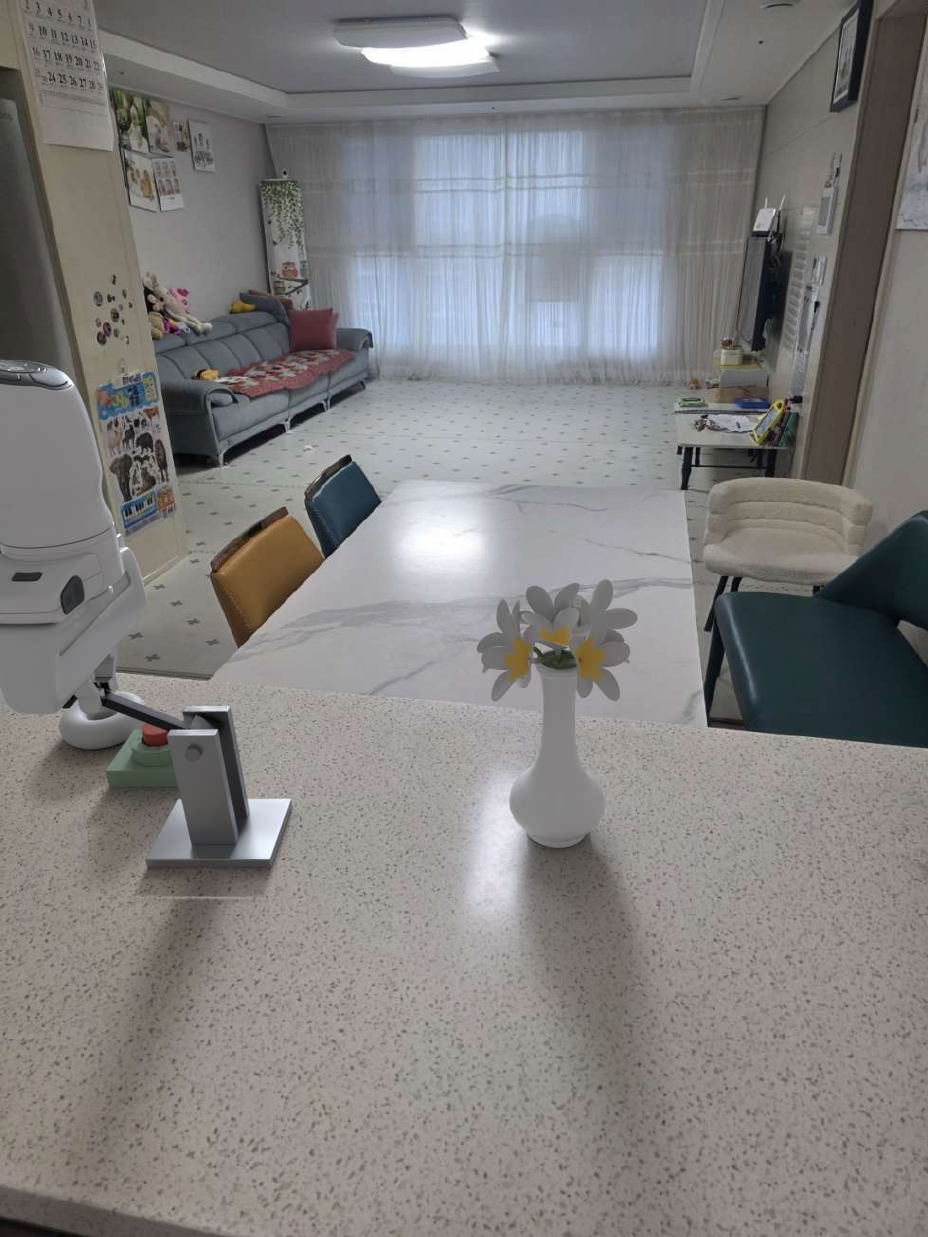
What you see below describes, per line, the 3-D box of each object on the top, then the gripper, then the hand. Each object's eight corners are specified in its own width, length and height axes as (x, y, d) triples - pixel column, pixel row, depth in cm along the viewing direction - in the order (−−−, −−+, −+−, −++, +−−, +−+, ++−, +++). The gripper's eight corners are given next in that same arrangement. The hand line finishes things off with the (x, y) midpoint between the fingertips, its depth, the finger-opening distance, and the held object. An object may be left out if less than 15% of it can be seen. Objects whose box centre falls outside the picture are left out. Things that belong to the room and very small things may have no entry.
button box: (109, 787, 90) (101, 757, 88) (138, 745, 97) (130, 716, 95) (199, 787, 89) (193, 756, 88) (221, 744, 97) (216, 715, 95)
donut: (168, 722, 101) (114, 700, 106) (163, 698, 100) (108, 677, 105) (99, 765, 94) (44, 740, 98) (92, 740, 92) (37, 715, 97)
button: (139, 748, 90) (136, 734, 89) (151, 729, 93) (148, 716, 93) (171, 748, 90) (168, 734, 89) (182, 729, 93) (180, 716, 92)
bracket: (147, 869, 78) (115, 749, 72) (179, 807, 86) (153, 695, 80) (271, 869, 78) (250, 748, 72) (292, 807, 86) (275, 694, 80)
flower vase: (635, 781, 88) (652, 565, 77) (598, 904, 73) (612, 655, 62) (519, 759, 92) (519, 550, 81) (460, 870, 77) (450, 631, 66)
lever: (52, 709, 73) (58, 688, 72) (78, 680, 77) (84, 660, 76) (204, 767, 75) (212, 748, 74) (221, 736, 80) (228, 717, 79)
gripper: (83, 520, 79) (113, 648, 85) (-41, 614, 60) (8, 767, 67) (148, 520, 79) (174, 648, 85) (43, 613, 60) (85, 768, 66)
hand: (100, 701), depth 75 cm, fingers closed on lever
